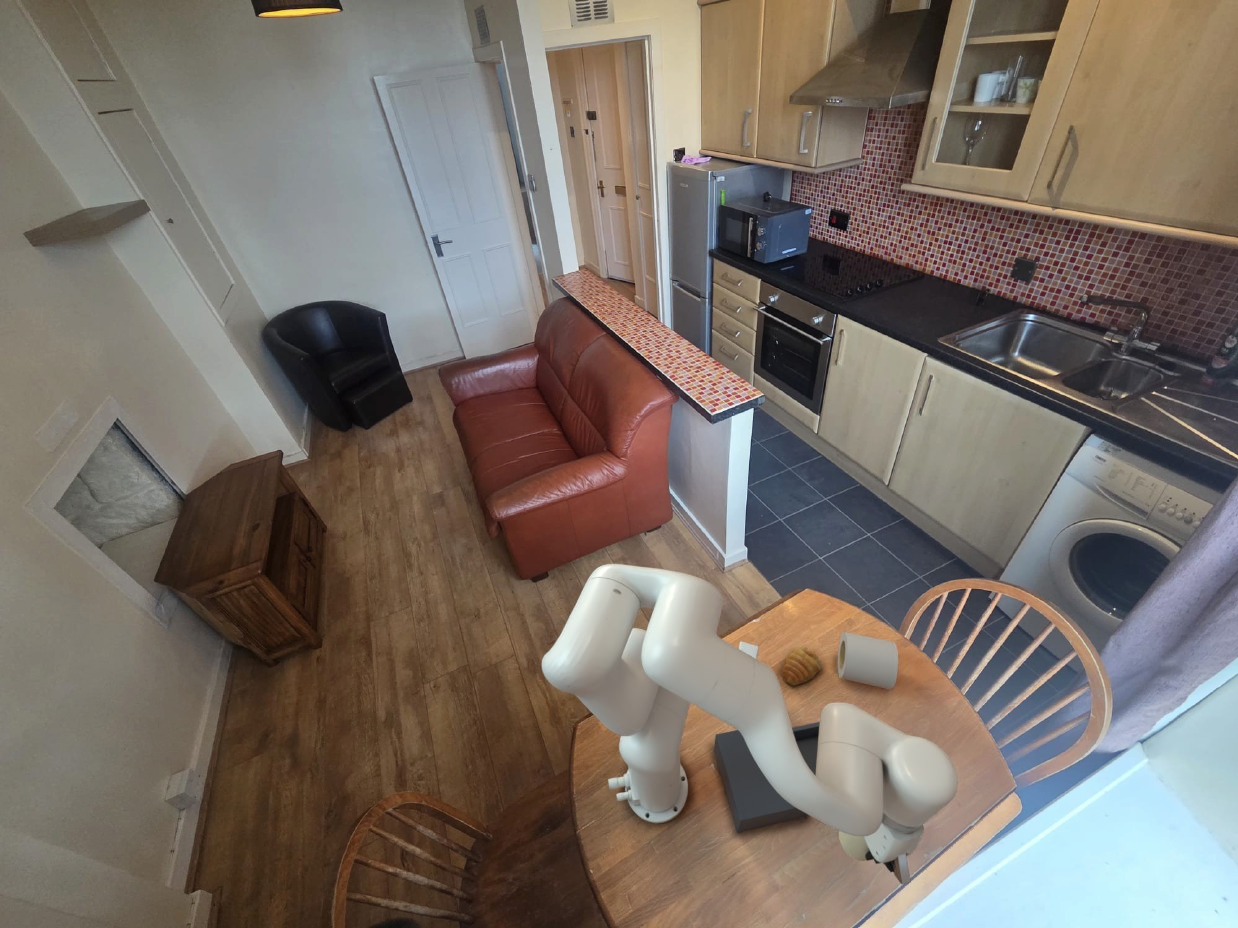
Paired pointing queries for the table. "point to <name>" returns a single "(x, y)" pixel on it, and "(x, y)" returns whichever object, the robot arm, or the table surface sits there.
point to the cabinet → (749, 786)
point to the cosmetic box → (749, 649)
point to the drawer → (808, 743)
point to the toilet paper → (868, 660)
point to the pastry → (801, 666)
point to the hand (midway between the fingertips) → (864, 831)
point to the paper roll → (854, 845)
